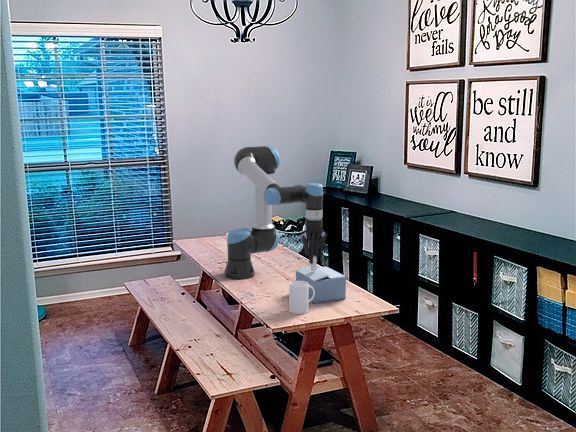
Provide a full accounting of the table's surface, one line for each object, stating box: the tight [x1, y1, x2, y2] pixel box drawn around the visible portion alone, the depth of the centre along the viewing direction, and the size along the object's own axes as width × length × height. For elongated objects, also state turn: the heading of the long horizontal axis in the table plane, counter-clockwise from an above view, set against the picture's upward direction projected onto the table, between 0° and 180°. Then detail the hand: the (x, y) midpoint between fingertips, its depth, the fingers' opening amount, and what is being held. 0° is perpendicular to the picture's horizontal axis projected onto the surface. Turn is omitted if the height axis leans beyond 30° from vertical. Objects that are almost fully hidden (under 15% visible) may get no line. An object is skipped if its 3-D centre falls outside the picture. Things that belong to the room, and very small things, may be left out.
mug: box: [288, 280, 315, 315], centre depth 255 cm, size 12×8×12 cm
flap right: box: [316, 266, 346, 279], centre depth 274 cm, size 7×18×1 cm, turn 25°
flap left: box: [295, 264, 329, 281], centre depth 271 cm, size 7×18×1 cm, turn 24°
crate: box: [295, 270, 347, 305], centre depth 274 cm, size 16×18×10 cm
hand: (313, 270), depth 271 cm, fingers closed
